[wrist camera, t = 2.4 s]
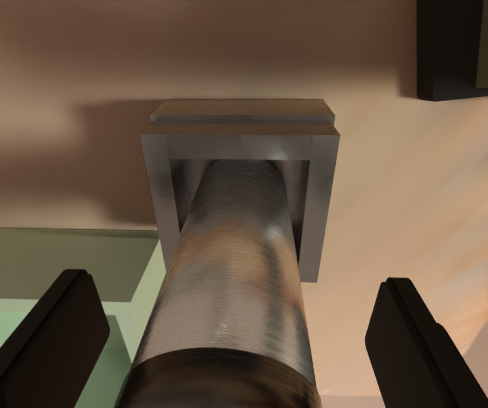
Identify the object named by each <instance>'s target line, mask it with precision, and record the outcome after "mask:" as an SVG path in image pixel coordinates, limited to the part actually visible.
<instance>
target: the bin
mask: <svg viewBox="0 0 488 408" xmlns="http://www.w3.org/2000/svg"><path fill="white" fill-rule="evenodd" d="M65 269H85V270H86V271H87V272H88V274H91V275H92V277H93V280H94V283H95V285H96V288H97V291H98V294H99V297H100V300H101V303H102V306H103V309H104V312H105V314H106V317H107V320H108V323H109V326H110V335H109V338H108V340H107V342H106V344H105V346H104V348H103V351H102V353H101V355H100V357H99V359H98V361H97V363H96V365H95V367H94V369H93V371H92V373H91V375H90V377H89V379H88V381H87V383H86V385H85V387H84V389H83V391H82V393H81V395H80V397H79V399H78V401H77V403H76V405H75V407H74V408H113V406H114V404H115V401H116V399H117V396H118V393H119V391H120V388H121V385H122V383H123V381H124V379H125V377H126V376H127V374H128V373H129V371H130V368H131V365H132V363H133V360H134V357H135V355H136V352H137V349H138V347H139V344H140V341H141V338H142V336H143V333H144V330H145V328H146V325H147V322H148V320H149V317H150V314H151V312H152V309H153V306H154V304H155V301H156V298H157V296H158V293H159V290H160V287H161V285H162V282H163V279H164V277H165V274H166V269H165V264H164V259H163V254H162V249H161V243H160V238H159V233H158V231H135V230H83V229H31V228H0V347H1V346H2V345H3V343H4V342H5V341H6V340H7V339H8V337H9V336H10V335H11V334H12V332H13V331H14V330H15V329H16V328H17V326H18V325H19V324H20V323H21V321H22V320H23V319H24V318H25V317H26V315H27V314H28V313H29V312H30V310H31V309H32V308H33V307H34V306H35V304H36V303H37V302H38V301H39V299H40V298H41V297H42V296H43V295H44V293H45V292H46V291H47V290H48V288H49V287H50V286H51V285H52V284H53V282H54V281H55V280H56V279H57V277H58V276H59V275H60V274H61V273H62V272H63V271H64V270H65Z"/></svg>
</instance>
